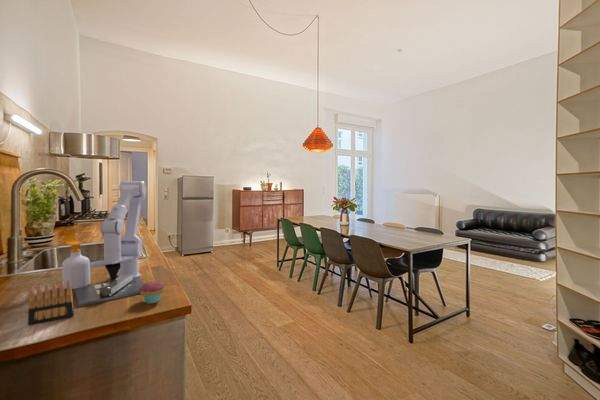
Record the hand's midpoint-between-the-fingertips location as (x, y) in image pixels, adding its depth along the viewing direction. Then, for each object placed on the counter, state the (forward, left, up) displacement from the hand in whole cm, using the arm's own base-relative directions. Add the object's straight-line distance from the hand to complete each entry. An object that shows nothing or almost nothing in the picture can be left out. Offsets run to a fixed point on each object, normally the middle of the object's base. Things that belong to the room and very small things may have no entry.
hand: (113, 282), depth 116 cm
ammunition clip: (+19, -19, -3) cm, 27 cm away
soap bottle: (-12, -11, -3) cm, 17 cm away
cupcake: (+23, +9, -3) cm, 25 cm away
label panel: (+4, -1, -2) cm, 5 cm away
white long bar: (+6, 0, -1) cm, 6 cm away
